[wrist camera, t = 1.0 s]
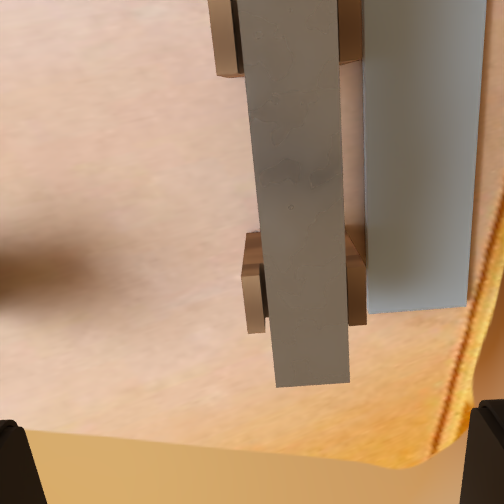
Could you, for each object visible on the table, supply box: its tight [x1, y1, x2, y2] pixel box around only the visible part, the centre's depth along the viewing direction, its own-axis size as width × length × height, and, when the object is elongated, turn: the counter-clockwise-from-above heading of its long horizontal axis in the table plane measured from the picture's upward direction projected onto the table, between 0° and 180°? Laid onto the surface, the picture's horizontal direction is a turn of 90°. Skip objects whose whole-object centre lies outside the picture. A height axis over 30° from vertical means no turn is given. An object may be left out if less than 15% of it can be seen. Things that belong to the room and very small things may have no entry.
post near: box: [208, 0, 362, 78], centre depth 24 cm, size 4×7×8 cm, turn 96°
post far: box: [241, 230, 367, 334], centre depth 29 cm, size 4×7×8 cm, turn 96°
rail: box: [237, 0, 350, 388], centre depth 23 cm, size 22×4×4 cm, turn 6°
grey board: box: [361, 0, 487, 314], centre depth 29 cm, size 24×7×1 cm, turn 6°
